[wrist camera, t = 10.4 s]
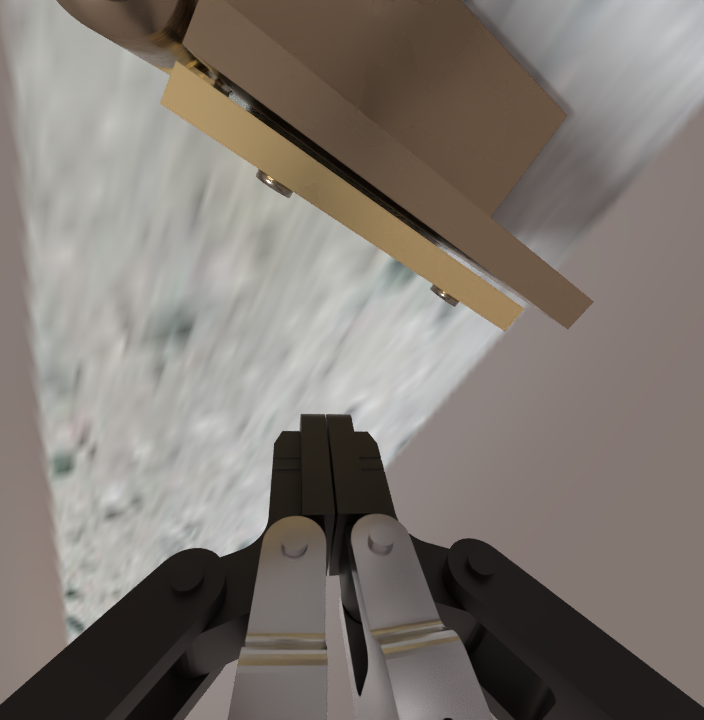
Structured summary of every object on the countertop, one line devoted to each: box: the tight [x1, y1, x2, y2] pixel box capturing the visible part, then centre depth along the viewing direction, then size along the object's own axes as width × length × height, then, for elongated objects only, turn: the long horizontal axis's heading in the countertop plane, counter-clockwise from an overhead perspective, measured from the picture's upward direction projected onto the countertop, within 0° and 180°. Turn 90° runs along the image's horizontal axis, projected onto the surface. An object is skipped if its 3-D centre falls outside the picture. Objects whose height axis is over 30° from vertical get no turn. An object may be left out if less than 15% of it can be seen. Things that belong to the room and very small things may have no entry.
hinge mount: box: [57, 0, 593, 329], centre depth 11 cm, size 8×14×10 cm, turn 56°
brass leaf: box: [148, 58, 524, 331], centre depth 12 cm, size 12×3×9 cm, turn 57°
